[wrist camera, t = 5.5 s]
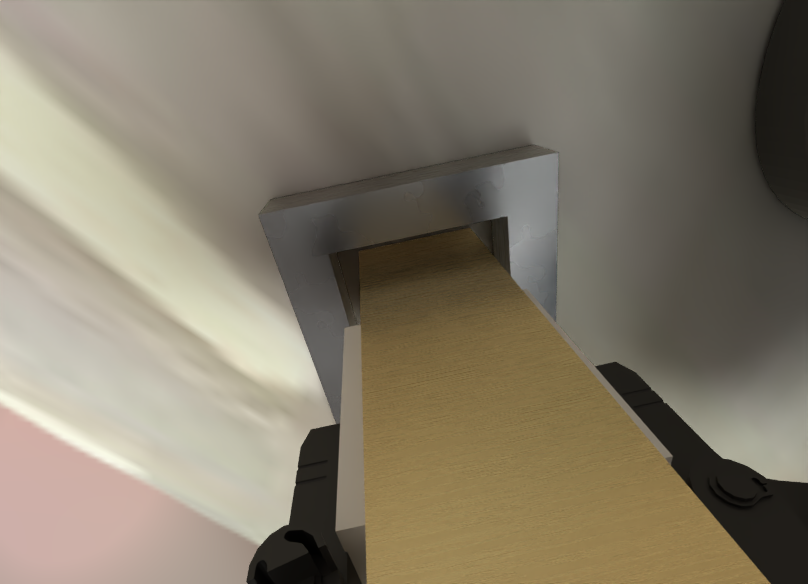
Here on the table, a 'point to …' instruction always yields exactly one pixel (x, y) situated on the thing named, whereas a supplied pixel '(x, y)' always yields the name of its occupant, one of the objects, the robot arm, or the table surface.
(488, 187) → the grey peg hole board
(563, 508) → the brass peg
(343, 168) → the table surface
